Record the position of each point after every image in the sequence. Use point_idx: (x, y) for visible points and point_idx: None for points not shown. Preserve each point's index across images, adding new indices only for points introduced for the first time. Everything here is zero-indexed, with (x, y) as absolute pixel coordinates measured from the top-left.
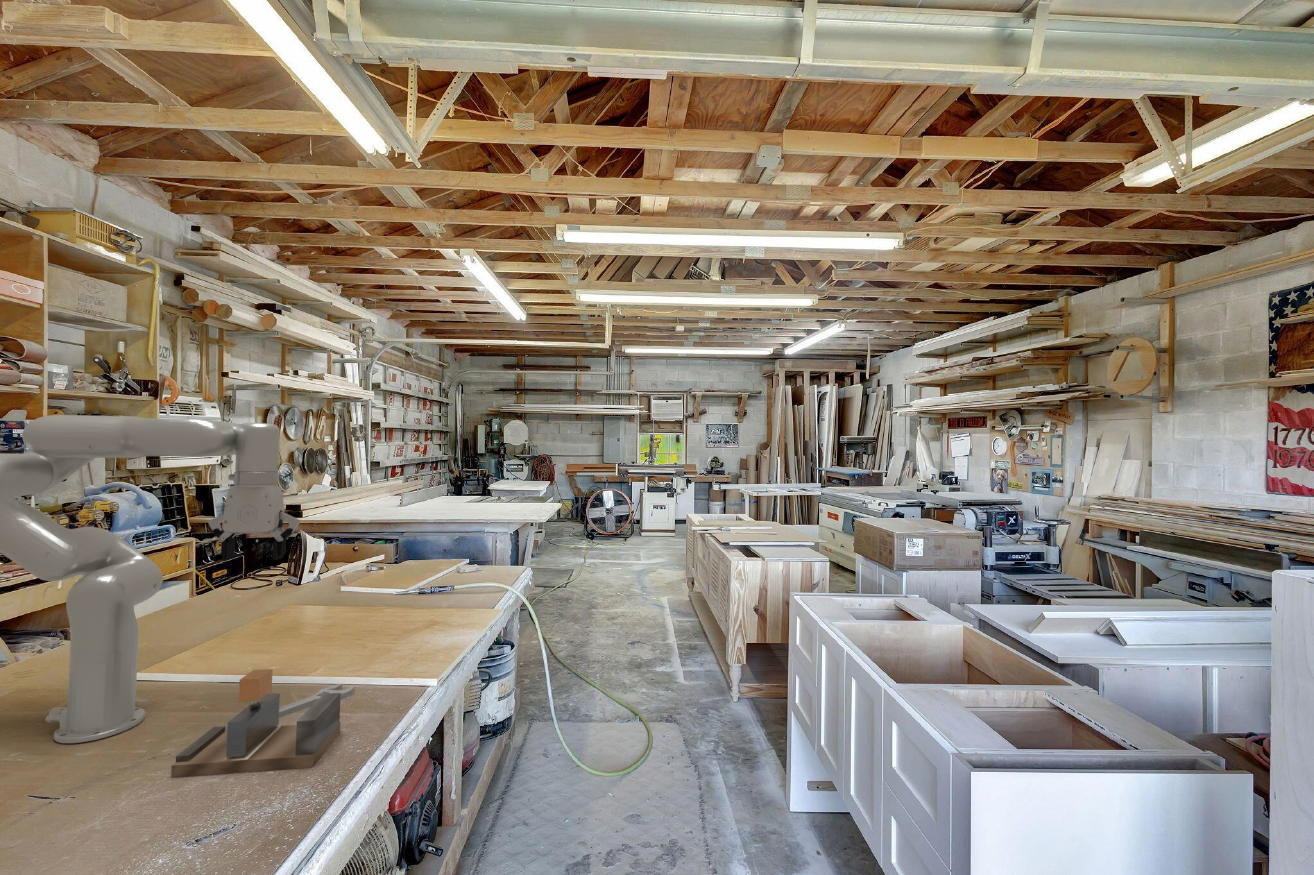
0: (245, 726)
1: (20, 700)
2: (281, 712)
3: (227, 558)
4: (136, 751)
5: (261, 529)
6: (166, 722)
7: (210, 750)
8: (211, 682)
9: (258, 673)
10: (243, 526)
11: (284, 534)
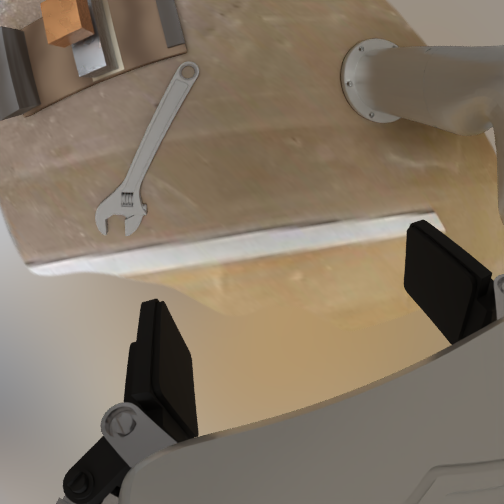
0: None
1: (491, 154)
2: (145, 132)
3: (410, 239)
4: (275, 18)
5: (230, 464)
6: (309, 93)
7: (143, 3)
8: (347, 218)
9: (59, 18)
10: (456, 417)
11: (106, 460)
